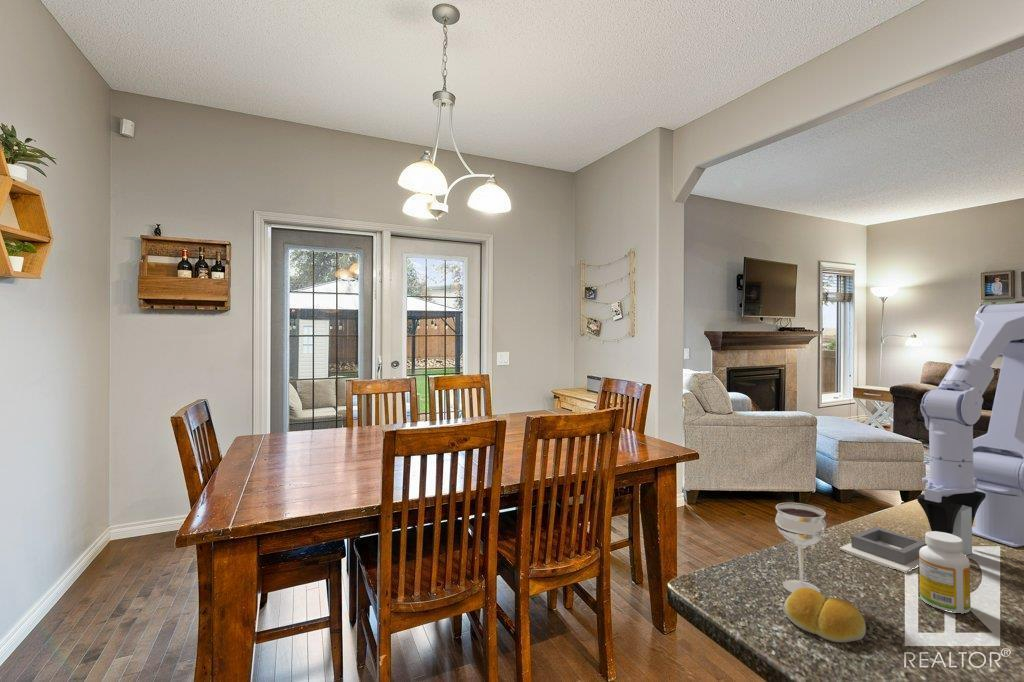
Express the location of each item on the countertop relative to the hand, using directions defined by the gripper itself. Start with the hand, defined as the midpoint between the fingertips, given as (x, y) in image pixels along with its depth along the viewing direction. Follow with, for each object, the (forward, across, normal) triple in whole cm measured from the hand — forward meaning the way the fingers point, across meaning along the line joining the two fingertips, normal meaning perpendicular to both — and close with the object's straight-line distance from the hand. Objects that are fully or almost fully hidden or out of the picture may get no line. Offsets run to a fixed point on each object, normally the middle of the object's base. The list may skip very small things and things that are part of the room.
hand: (952, 535), depth 85 cm
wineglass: (+3, +34, -6) cm, 35 cm away
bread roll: (+3, +41, +1) cm, 41 cm away
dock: (+3, +10, -5) cm, 12 cm away
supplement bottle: (+3, +22, +7) cm, 23 cm away
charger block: (+3, 0, 0) cm, 3 cm away
